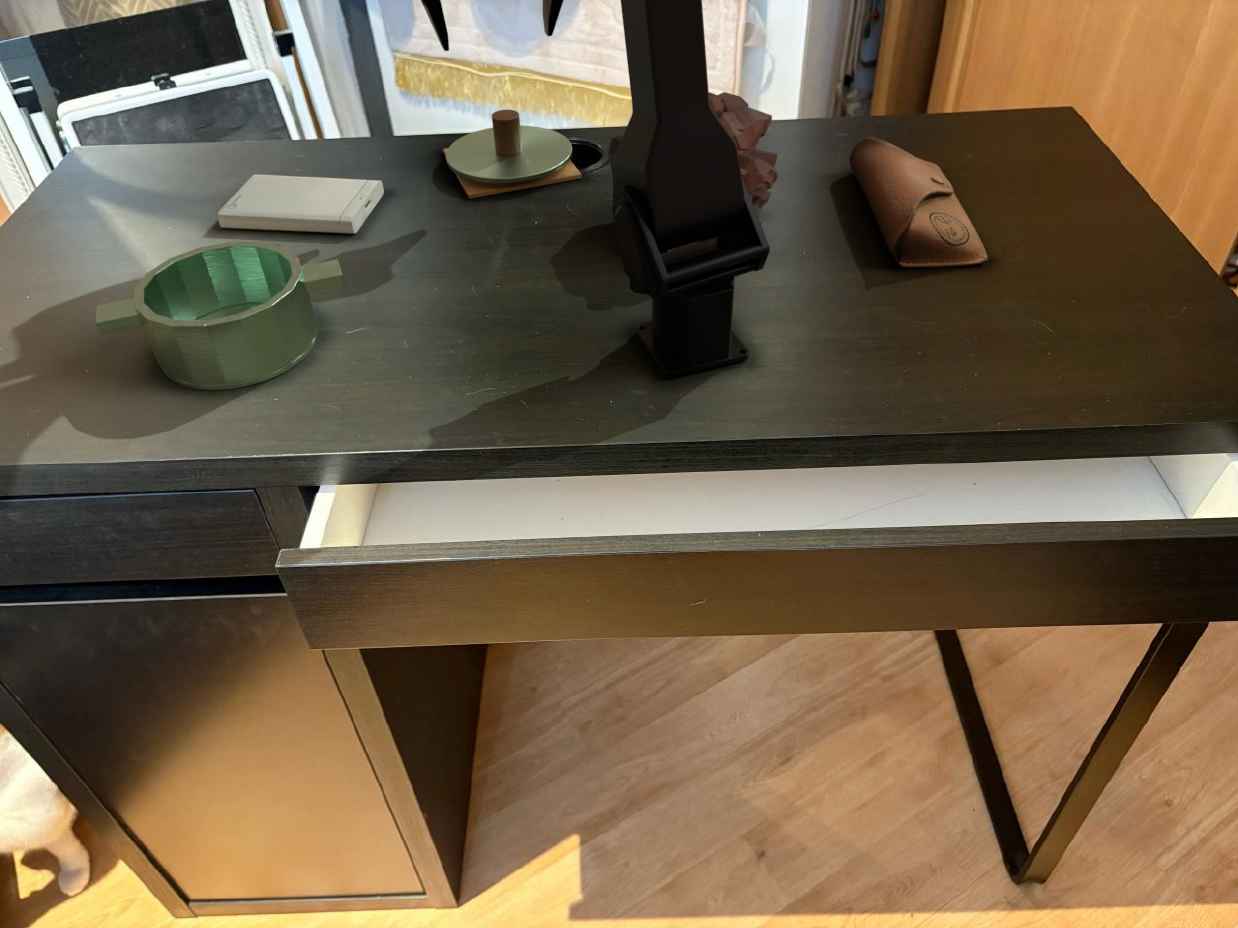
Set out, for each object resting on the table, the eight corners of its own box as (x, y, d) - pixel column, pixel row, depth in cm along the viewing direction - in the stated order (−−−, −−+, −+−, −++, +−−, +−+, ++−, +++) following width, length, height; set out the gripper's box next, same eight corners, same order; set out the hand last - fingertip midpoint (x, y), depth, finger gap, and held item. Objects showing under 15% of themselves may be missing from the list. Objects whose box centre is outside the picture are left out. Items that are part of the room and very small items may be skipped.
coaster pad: (581, 178, 91) (581, 174, 91) (469, 199, 88) (468, 195, 88) (547, 135, 99) (547, 131, 99) (443, 152, 96) (442, 149, 96)
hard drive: (215, 213, 84) (350, 218, 82) (254, 172, 90) (381, 176, 89) (221, 230, 85) (354, 236, 84) (259, 189, 91) (384, 193, 90)
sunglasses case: (997, 259, 77) (970, 194, 73) (914, 301, 79) (884, 240, 75) (936, 164, 90) (910, 104, 87) (866, 201, 93) (838, 145, 89)
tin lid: (589, 176, 91) (587, 128, 87) (463, 199, 88) (456, 150, 85) (551, 128, 99) (548, 83, 96) (435, 147, 96) (428, 102, 93)
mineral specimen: (626, 271, 87) (758, 184, 89) (682, 293, 76) (832, 194, 78) (564, 155, 82) (706, 65, 84) (614, 160, 71) (778, 57, 72)
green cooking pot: (365, 360, 70) (349, 296, 66) (118, 414, 65) (88, 349, 62) (342, 284, 78) (327, 223, 74) (122, 328, 74) (95, 266, 70)
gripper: (560, -194, 81) (571, 3, 91) (337, -175, 76) (375, 30, 87) (604, -176, 73) (610, 38, 83) (358, -154, 68) (397, 69, 79)
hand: (497, 42), depth 83 cm, fingers open, 9 cm apart
